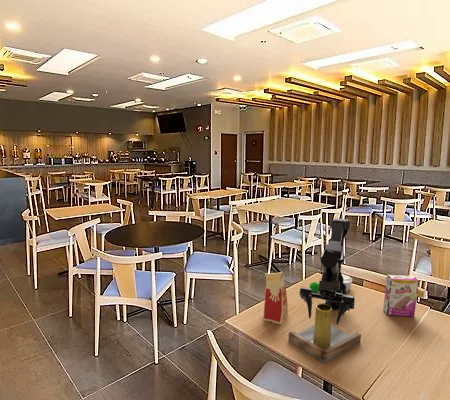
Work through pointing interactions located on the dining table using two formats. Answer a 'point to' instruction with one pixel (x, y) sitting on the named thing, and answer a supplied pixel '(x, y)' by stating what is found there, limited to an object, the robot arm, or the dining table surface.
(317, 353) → the arena
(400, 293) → the candy bar box
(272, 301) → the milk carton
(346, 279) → the ramekin
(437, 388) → the dining table surface
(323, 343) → the vase
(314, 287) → the green pom pom ball
